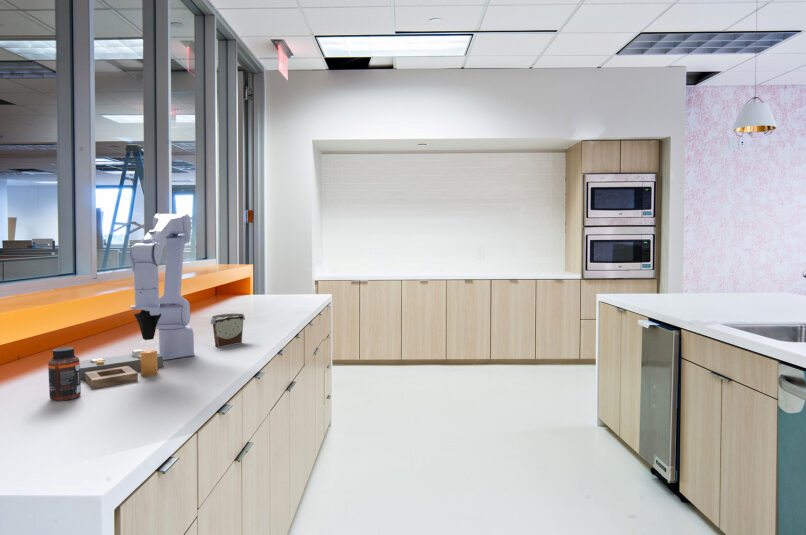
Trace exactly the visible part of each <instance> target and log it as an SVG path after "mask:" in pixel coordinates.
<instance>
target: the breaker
mask: <svg viewBox="0 0 806 535" xmlns="http://www.w3.org/2000/svg"><path fill="white" fill-rule="evenodd" d="M143 351H145V350H144V349H142V348H140V349H133V350H132V351H131V352H132V353H131V354H132V357H133V358H134V357H138V356H139V355H140V352H143Z"/></svg>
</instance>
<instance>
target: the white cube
mask: <svg viewBox="0 0 806 535" xmlns="http://www.w3.org/2000/svg"><path fill="white" fill-rule="evenodd" d="M102 358H103V357H100V358H92V359H91V360H92V363H96V362H97V361H104V360H103V359H102Z"/></svg>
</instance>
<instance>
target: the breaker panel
mask: <svg viewBox="0 0 806 535" xmlns="http://www.w3.org/2000/svg"><path fill="white" fill-rule="evenodd" d="M101 358H102V359H103V360H104V361H97V362H96V363H92V359H87V360H86V359H85V360H79V363H80V381H82V380H85V372H89V371H95V370H102V369H108V368H115V367H122V366H129V367H131V368H132V369H133V370H134V371H136V372H141V358H140V355H139V356H138V357H134V358H133V357H132V353H129V354H121V355H114V356H108V357H101ZM157 365H158V368H163V367H164V360H163V356H161V355H160V354H159V353H158V352H157Z"/></svg>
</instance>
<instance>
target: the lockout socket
mask: <svg viewBox="0 0 806 535" xmlns="http://www.w3.org/2000/svg"><path fill="white" fill-rule="evenodd" d="M84 380H85V382H86V383H87V384H88V385H89V386H90V387H91V389H97V388H103V387H104V388H105V387H108V386H109V387H110V386H115V385H121V384H122V385H123V384H126V383H131V382H138V381H139V373H138V371H134V370H133V369H132V368H131V367H129V366H122V367H115V368H108V369H102V370H95V371H89V372H85V379H84Z"/></svg>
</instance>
